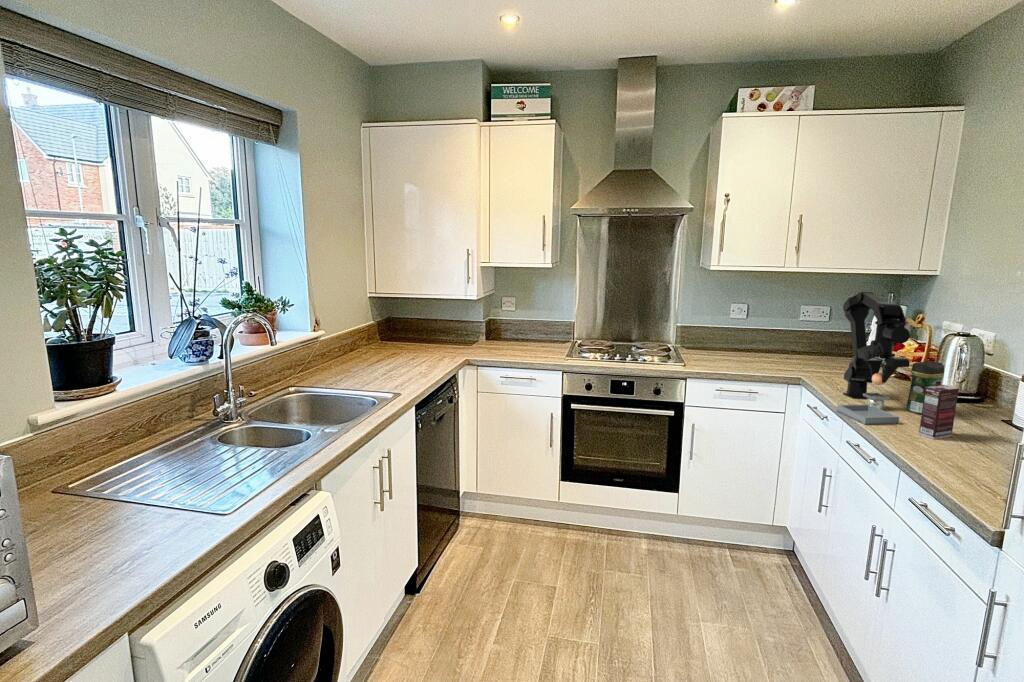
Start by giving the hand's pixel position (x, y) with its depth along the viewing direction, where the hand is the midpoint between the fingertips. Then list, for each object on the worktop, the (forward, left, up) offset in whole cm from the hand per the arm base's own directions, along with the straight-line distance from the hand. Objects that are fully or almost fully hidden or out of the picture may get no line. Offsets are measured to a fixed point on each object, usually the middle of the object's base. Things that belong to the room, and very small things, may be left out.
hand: (878, 381), depth 197 cm
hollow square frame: (0, 0, -10) cm, 10 cm away
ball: (0, 0, -1) cm, 1 cm away
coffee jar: (+5, +14, -11) cm, 18 cm away
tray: (+10, -11, -10) cm, 18 cm away
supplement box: (+28, -2, -11) cm, 30 cm away
